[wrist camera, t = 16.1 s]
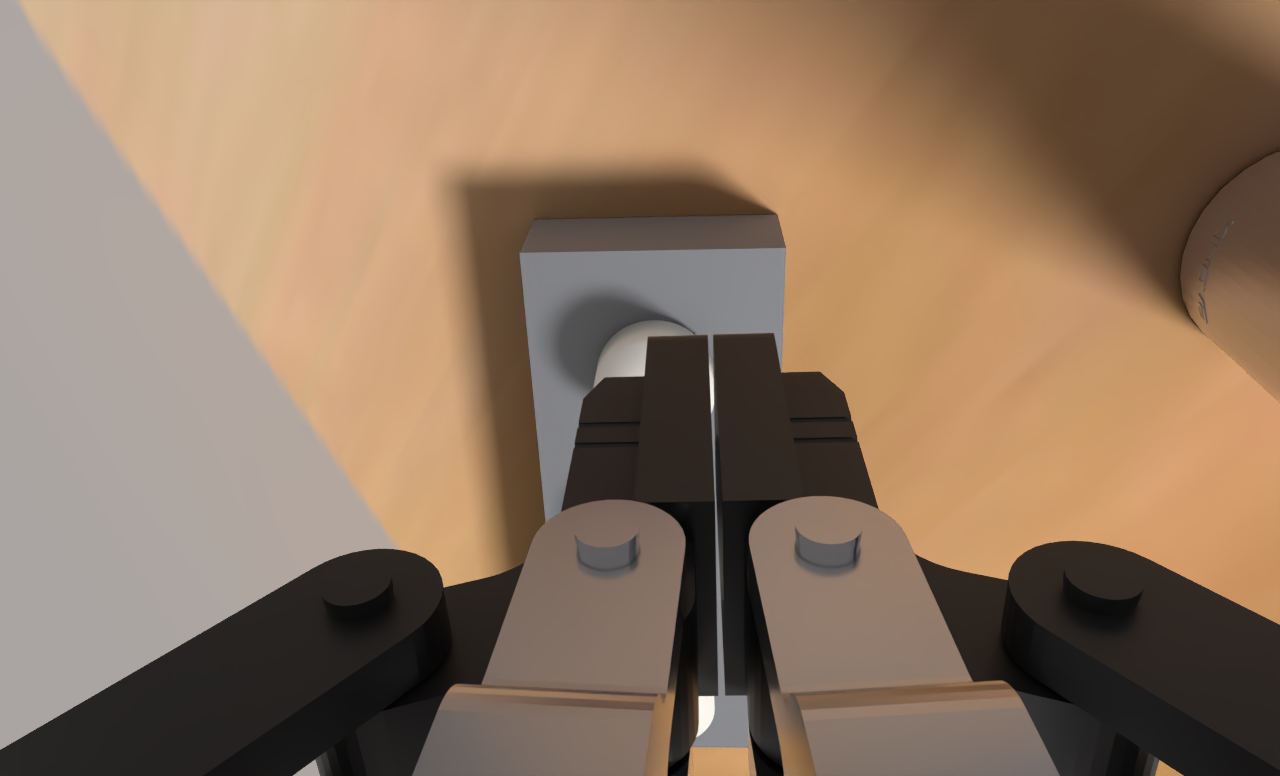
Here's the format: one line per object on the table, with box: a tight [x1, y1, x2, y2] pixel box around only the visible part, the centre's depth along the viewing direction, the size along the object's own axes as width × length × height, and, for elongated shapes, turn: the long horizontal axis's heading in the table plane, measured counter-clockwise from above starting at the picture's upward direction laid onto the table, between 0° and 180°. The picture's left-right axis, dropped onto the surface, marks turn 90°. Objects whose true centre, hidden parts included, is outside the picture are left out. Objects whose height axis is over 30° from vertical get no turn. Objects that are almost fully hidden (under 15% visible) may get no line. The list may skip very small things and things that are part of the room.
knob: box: [593, 320, 714, 413], centre depth 40 cm, size 5×5×6 cm
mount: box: [519, 215, 786, 748], centre depth 45 cm, size 10×26×4 cm, turn 2°
